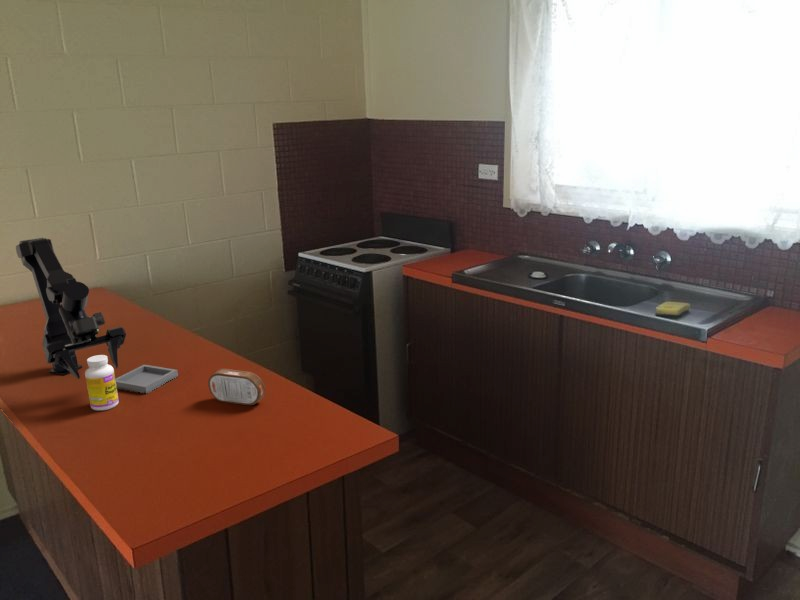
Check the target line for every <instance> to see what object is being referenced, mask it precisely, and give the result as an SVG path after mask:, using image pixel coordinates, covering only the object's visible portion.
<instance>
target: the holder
mask: <svg viewBox="0 0 800 600" xmlns="http://www.w3.org/2000/svg"><path fill="white" fill-rule="evenodd" d="M177 376H178V377H179V373H178V369H174V368H168V367H167V368H166V367H161V366H157V365H149V364H142V365H140V366H138V367H136V368H134V369H132V370H131V371H130V370H129V371H128V372H126V373H123V375H120V376H118V377H115V380H116V386H117V390H122V389H123V390H122V391H127V390H130V391H129V392H133V391H134V393H138V392H140V393H139V394H144V393H146V394H145V395H147V393H148V394H150V393H151V392H153V391H155V390H157V389H158V388H160V387H162V386H163V384H164V385H165V383H166V382H168V381H169V382H171V381H173V380H175V379H177V378H178V377H177ZM176 377H177V378H176ZM174 378H175V379H174ZM172 379H173V380H172ZM170 380H171V381H170ZM169 382H168V383H169ZM166 384H167V383H166ZM161 385H162V386H161ZM156 388H157V389H156ZM154 389H155V390H154ZM152 390H153V391H152Z"/></svg>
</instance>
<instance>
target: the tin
mask: <svg viewBox="0 0 800 600" xmlns="http://www.w3.org/2000/svg"><path fill="white" fill-rule="evenodd" d="M207 382H208V383H207V384H208V389H209V391H210V394H211V395H212V396H213V397H214V398H215V399H216V400H217V401H220V402H222V403H230V404H236V405H243V406H253V405H255V404H257V403H258V402H259V401H261V400H262V399H263V398H264V396H265V394H266V387H265V384H264V382H263V380H262V379H261V378H260V376H258V375H257V374H256V373H254V372H251V371H246V370H245V371H244V370H235V369H230V368H219V369H217V370H216V371H214V372H213V374H211V375H210V376H209V378H208V381H207Z"/></svg>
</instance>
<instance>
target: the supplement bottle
mask: <svg viewBox="0 0 800 600" xmlns="http://www.w3.org/2000/svg"><path fill="white" fill-rule="evenodd" d="M108 362H109V359H108V356H107V355H105V354H98V355H93V356H90V357H88V358H87V359H86V363H87V365H88V366H87V367H88V368H86V370H85V371H84V378H85V382H86V387H87V395H88V399H89V404H90V408H91V409H92V410H93V411H98V412H99V411H101V412H102V411H108V410H110V409H113V408H115V407H116V406H118V404H119V402H120V401H119V393H118V389H117V386H116V380H115V379H116V376H115V369H114V366H112V365H111V364H108Z"/></svg>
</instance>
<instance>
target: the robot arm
mask: <svg viewBox="0 0 800 600" xmlns="http://www.w3.org/2000/svg"><path fill="white" fill-rule="evenodd" d="M15 252H16V255H17V257H18V259H20V260H21V263H22V265H23V267H25V268H26V269H27V270H29V271H30V272H31V274H32V277H33V281H34V283H35V287H36V290H37V293H38V296H39V300H40V302H41V306H42V308H43V312H44V315H45V321H46V322H45V325H44V328H43V337H42V345H41V346H42V348H43V352H44V357H45V360H46V362H47V364H52V368H51V369H49V370H48V373H49V374H50V373H51V374H56V375H60V376H61V375H62V376H65V375H66V376H67V375H68V374H72V376H74V377H75V378H76V379H78V380H79V379H80V378H81V375H80V373H79V369H81V368H83V365H82V364H79V363H78V357H77V354H76V351H79V350H84V349H87V348H91V347H95V346H98V345H102V344H106V347H107V348H108V349H107V351H108V355H109V356H110V359H111V363H112V364H113V367H114V368H115V369H118V368H119V367H118V366H119V363H118V361H119V359H118V357H119V356H118V350H119V349H120V348H121V346H122V345H124V344H125V340H126V337H127V332H126V330H125V328H123V327H122V326H117V327H116V326H115V327H113V328H108V329H106V333H105V335H100V336H97V335H98V334H99V329H100V326H101V327H102V326H104V325H105V324H106V321H105V318H104V315H103V313H102V312H101V311H100V312H96V313H93V314H92V316H88V314H87V312H86V307H87V304H88V300H89V299H88V298H89V295H90V294H89V292H90V289H89V287H88V286H87V284H85V283H84V282H81V281H78V280H77V279H76V277H74V275H73V274H71V273H69V272H67V271H65V270H64V269H63V266H62V265H61V263H60V261H59V259H58V257H57V255H56V253H55V251H54V247H53V243H52V239H50V238H44V237H40V238H39V237H38V238H31V239H23V240H20V241H19V243H18V244H17V245H15ZM97 329H98V331H97Z"/></svg>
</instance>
